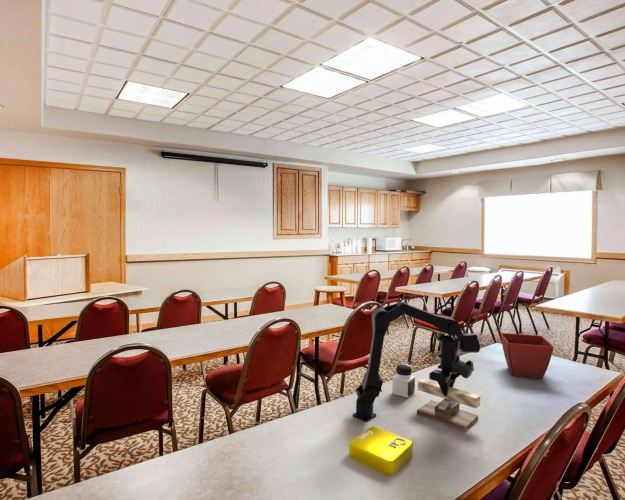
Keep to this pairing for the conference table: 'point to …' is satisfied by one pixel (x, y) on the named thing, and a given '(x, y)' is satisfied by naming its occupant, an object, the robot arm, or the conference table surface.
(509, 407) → the conference table surface
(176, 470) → the conference table surface
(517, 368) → the plant pot
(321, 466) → the conference table surface
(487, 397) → the conference table surface
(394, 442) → the element tile
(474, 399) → the beech stick
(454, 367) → the robot arm
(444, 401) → the balance stand
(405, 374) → the medicine bottle
